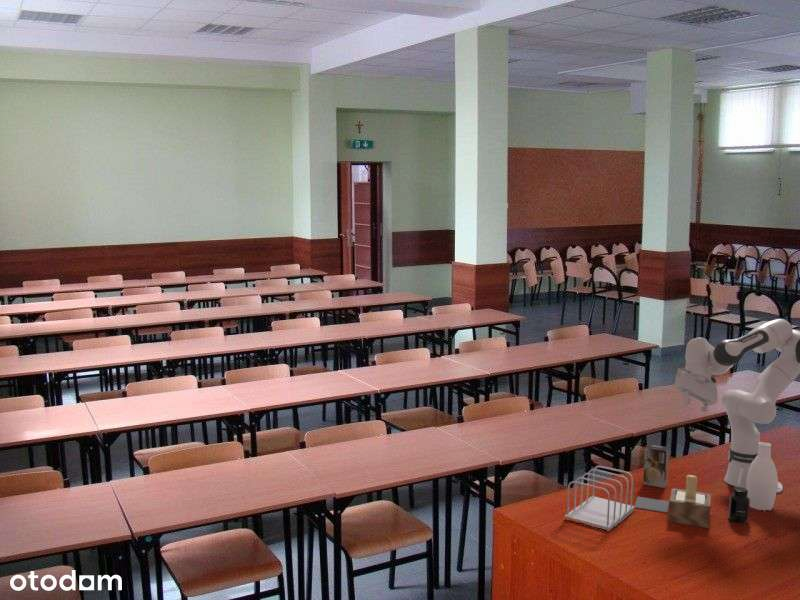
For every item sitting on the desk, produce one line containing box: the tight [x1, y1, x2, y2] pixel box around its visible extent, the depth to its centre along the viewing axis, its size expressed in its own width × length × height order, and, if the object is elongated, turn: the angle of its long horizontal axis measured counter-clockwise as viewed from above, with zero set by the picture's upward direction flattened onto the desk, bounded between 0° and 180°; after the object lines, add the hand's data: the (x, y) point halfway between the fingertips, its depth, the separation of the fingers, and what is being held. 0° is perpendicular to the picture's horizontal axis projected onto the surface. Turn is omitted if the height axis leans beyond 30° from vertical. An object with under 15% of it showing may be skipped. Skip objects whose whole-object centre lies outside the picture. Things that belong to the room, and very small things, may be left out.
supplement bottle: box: [727, 486, 750, 524], centre depth 288 cm, size 7×7×12 cm
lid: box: [676, 474, 705, 505], centre depth 288 cm, size 10×10×9 cm
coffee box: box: [642, 443, 669, 489], centre depth 324 cm, size 9×6×16 cm
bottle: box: [746, 441, 779, 512], centre depth 301 cm, size 11×11×25 cm
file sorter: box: [564, 465, 636, 531], centre depth 290 cm, size 25×17×16 cm
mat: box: [633, 496, 670, 514], centre depth 302 cm, size 12×12×1 cm
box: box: [667, 487, 712, 529], centre depth 289 cm, size 14×14×8 cm
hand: (695, 407), depth 302 cm, fingers open, 8 cm apart
